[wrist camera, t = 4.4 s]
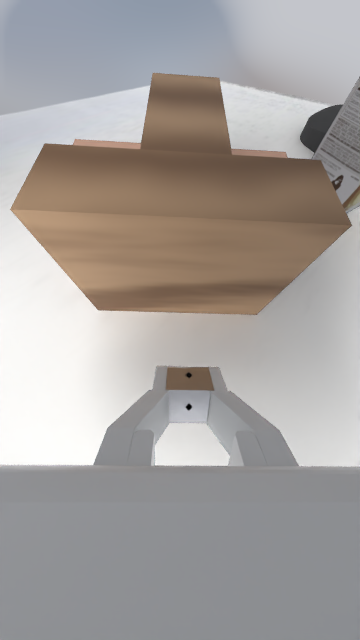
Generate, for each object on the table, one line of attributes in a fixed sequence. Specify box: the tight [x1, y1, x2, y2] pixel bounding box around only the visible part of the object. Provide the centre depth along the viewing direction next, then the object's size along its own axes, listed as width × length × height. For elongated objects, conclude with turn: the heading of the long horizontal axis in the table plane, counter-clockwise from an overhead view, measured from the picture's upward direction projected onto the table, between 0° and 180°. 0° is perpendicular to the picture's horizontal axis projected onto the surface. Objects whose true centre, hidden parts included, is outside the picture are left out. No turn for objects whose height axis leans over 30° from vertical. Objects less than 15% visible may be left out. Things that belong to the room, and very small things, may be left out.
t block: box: [10, 73, 352, 315], centre depth 15 cm, size 15×15×10 cm
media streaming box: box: [300, 105, 343, 152], centre depth 29 cm, size 15×15×3 cm
